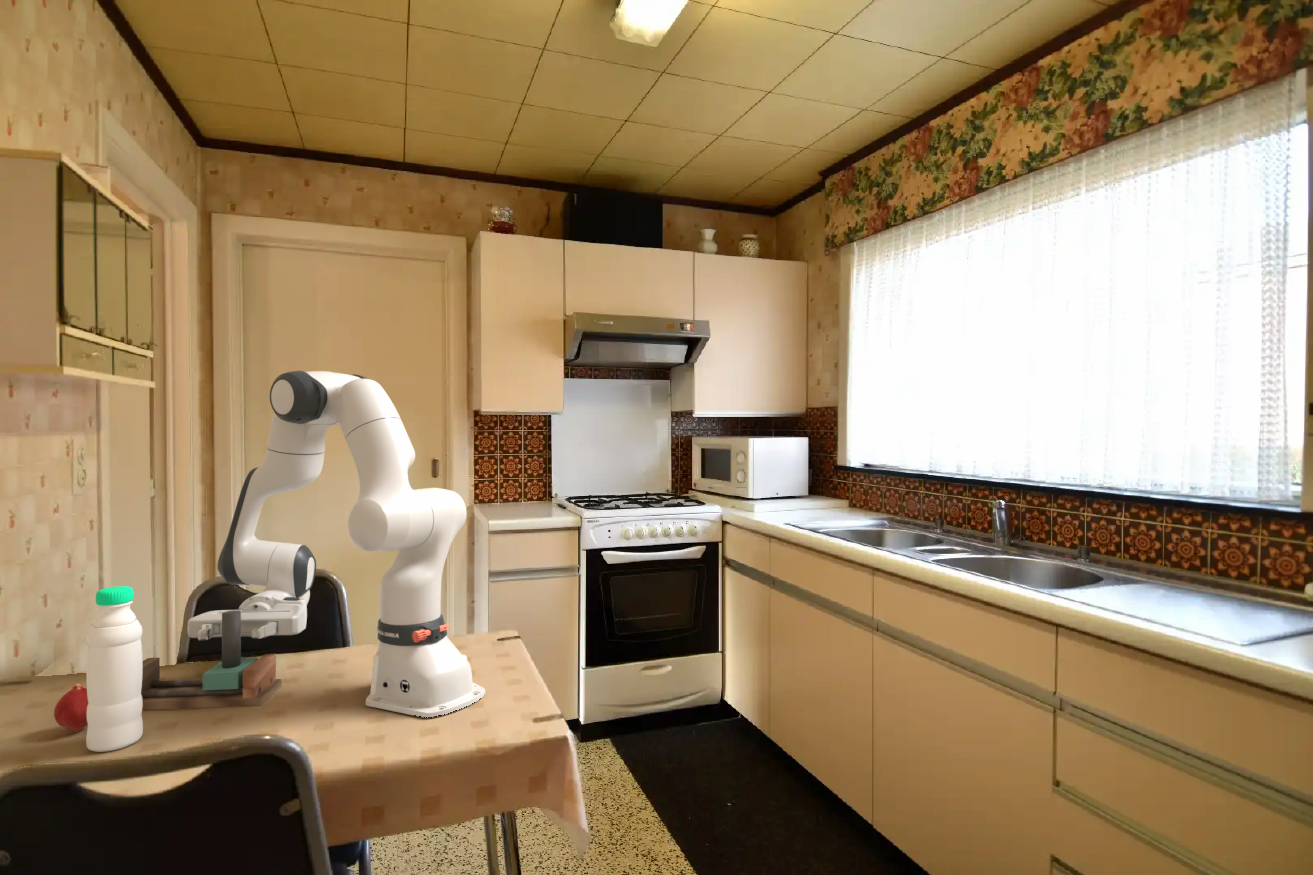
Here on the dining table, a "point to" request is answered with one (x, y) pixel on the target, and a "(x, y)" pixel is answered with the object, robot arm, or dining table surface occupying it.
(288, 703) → the dining table surface
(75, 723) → the onion
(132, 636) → the white bottle
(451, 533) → the robot arm
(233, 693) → the rail
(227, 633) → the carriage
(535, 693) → the dining table surface
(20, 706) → the dining table surface
